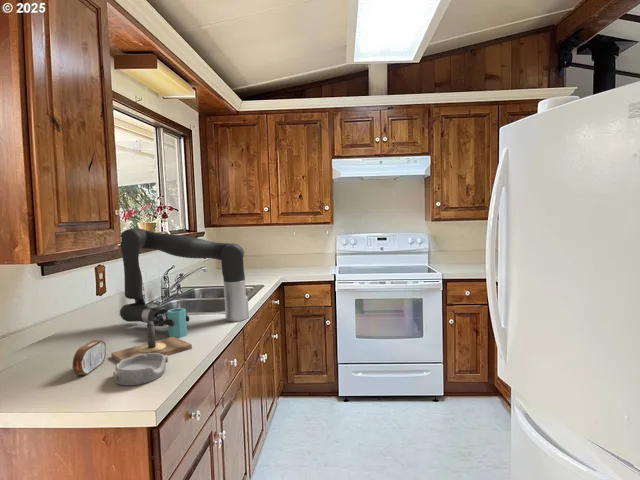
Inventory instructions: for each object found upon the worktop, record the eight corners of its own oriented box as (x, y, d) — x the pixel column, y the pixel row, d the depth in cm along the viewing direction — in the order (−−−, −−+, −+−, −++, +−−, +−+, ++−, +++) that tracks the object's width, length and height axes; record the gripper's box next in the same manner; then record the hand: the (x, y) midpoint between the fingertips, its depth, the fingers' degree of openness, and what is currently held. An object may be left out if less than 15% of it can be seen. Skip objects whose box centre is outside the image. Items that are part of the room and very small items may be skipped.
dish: (170, 366, 129) (169, 350, 128) (160, 384, 115) (158, 367, 115) (122, 370, 127) (120, 354, 126) (105, 390, 113) (103, 372, 113)
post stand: (174, 340, 154) (172, 312, 153) (191, 348, 144) (189, 318, 143) (111, 357, 139) (108, 326, 138) (126, 367, 129) (123, 333, 128)
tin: (99, 361, 136) (97, 336, 135) (108, 360, 136) (106, 335, 135) (72, 380, 121) (70, 352, 120) (83, 379, 121) (80, 351, 120)
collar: (180, 332, 165) (178, 307, 164) (190, 334, 161) (188, 309, 160) (166, 336, 160) (164, 311, 159) (176, 338, 156) (174, 313, 155)
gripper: (138, 310, 162) (163, 315, 153) (170, 303, 174) (195, 307, 164) (140, 329, 163) (165, 335, 153) (171, 320, 174) (196, 325, 165)
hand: (180, 321), depth 159 cm, fingers closed on collar, 6 cm apart
